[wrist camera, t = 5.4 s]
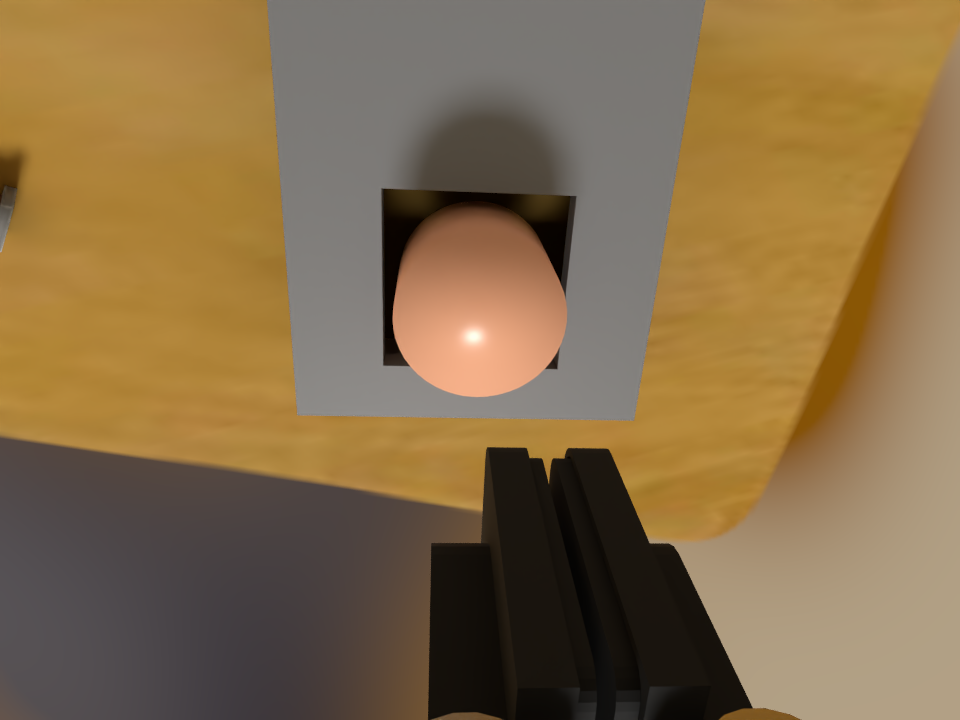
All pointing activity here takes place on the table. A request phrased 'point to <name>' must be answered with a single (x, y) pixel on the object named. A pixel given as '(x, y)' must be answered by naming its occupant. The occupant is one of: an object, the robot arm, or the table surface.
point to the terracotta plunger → (477, 301)
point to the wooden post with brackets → (6, 211)
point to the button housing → (477, 177)
